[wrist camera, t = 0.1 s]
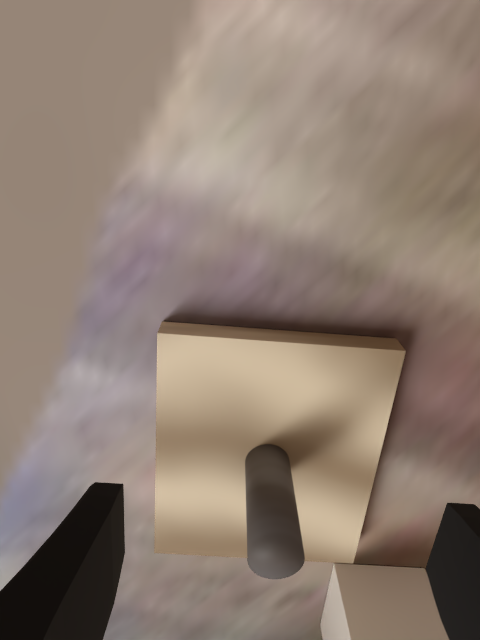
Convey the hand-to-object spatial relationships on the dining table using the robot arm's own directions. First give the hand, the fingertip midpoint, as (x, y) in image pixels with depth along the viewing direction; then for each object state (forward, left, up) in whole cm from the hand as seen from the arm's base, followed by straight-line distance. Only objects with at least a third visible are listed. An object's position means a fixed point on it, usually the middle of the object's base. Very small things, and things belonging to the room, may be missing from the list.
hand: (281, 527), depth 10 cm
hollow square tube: (-16, -8, -10) cm, 20 cm away
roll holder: (-6, -1, -10) cm, 11 cm away
